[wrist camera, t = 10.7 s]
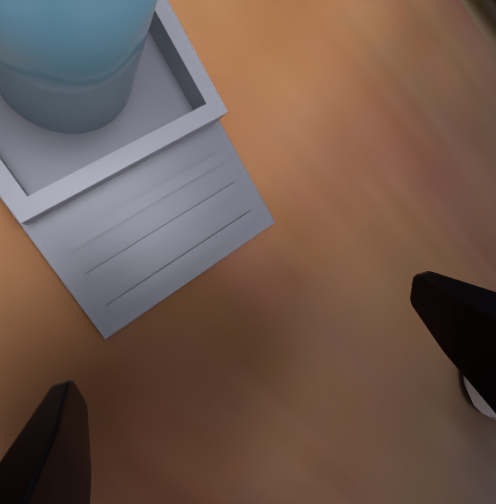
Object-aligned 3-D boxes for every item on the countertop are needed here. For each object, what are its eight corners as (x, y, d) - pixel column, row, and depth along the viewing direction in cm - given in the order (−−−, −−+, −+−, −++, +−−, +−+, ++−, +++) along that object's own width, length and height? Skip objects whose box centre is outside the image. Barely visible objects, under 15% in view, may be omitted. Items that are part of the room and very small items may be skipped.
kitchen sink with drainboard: (104, 335, 19) (107, 349, 17) (-143, 0, 15) (-186, -44, 13) (268, 222, 23) (290, 221, 20) (104, -74, 19) (107, -120, 16)
